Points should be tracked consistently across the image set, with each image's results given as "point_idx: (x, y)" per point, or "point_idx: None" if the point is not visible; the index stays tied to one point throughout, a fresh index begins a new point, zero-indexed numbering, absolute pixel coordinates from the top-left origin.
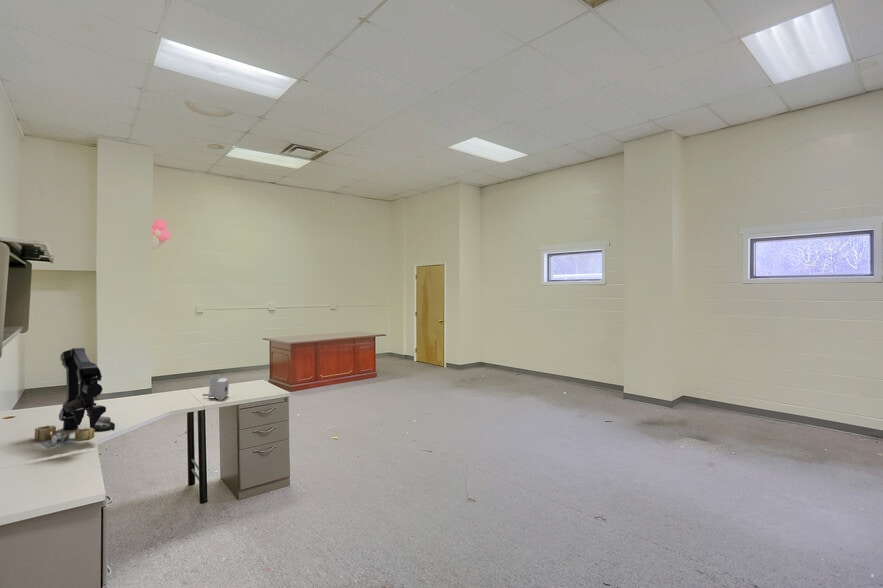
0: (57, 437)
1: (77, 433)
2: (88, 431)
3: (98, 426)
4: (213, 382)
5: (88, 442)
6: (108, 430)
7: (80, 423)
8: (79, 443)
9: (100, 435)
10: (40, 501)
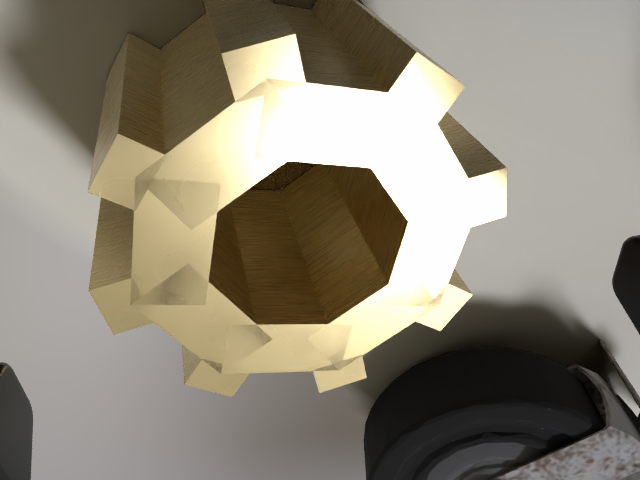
0: None
1: (234, 35)
2: (127, 267)
3: (526, 441)
4: None
5: None
6: (366, 462)
7: (631, 320)
8: (171, 6)
9: None
10: None
